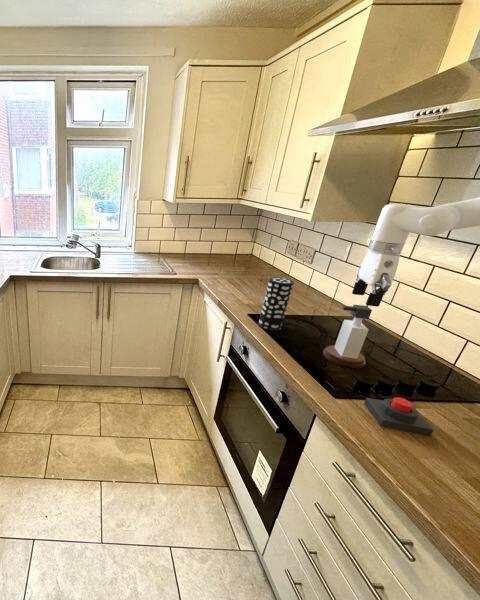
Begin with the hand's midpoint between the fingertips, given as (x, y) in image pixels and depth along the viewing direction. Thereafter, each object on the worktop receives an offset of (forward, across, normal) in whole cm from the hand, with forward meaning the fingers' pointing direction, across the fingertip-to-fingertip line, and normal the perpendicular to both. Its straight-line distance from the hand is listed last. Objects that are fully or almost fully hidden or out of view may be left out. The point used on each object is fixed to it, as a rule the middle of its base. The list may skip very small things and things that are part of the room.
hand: (364, 299), depth 101 cm
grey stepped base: (+22, -30, -1) cm, 37 cm away
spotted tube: (+22, +20, +19) cm, 35 cm away
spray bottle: (+21, 0, 0) cm, 21 cm away
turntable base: (+22, 0, 0) cm, 22 cm away
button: (+18, -30, -1) cm, 35 cm away
